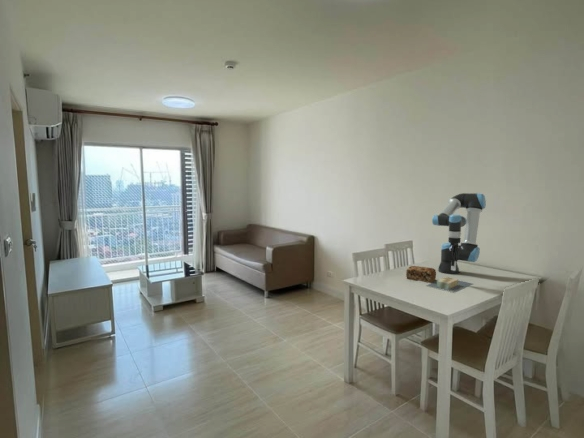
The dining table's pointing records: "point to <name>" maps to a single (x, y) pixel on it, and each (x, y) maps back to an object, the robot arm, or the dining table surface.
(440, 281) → the slab
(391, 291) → the dining table surface
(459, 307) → the dining table surface
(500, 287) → the dining table surface
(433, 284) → the mat
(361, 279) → the dining table surface
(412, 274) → the bread
